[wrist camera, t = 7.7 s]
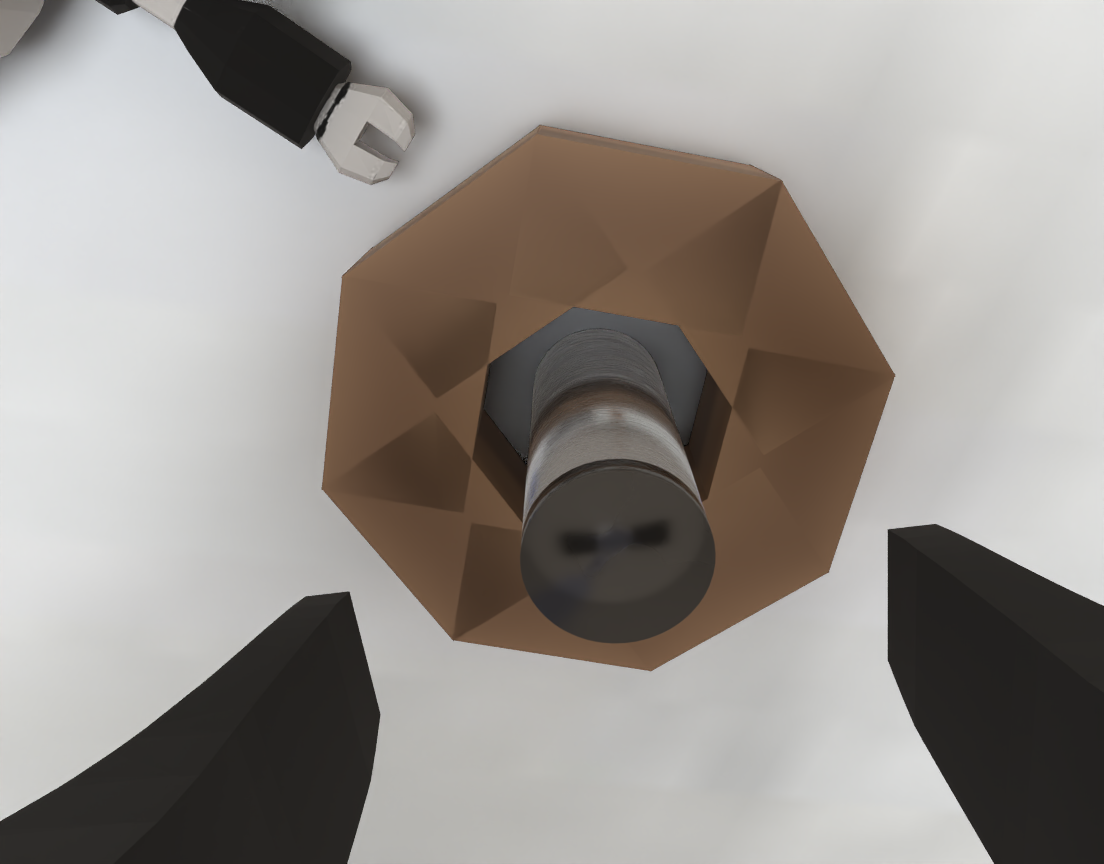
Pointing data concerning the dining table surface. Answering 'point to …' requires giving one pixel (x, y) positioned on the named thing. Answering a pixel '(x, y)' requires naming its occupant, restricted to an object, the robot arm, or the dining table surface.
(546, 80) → the dining table surface
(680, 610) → the metal cylinder
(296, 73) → the robot toy
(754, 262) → the walnut bead
